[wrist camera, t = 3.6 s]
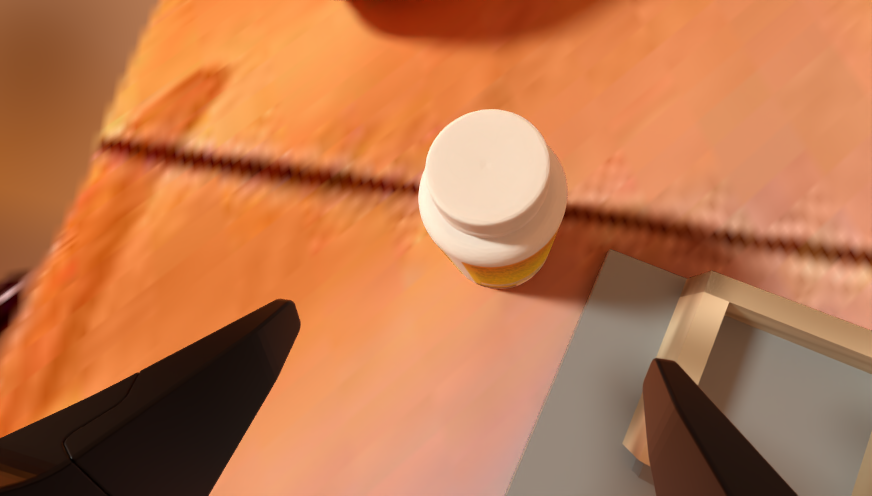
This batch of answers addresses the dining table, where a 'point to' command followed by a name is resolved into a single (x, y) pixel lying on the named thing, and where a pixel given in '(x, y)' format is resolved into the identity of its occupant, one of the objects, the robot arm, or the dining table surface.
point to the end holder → (762, 310)
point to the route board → (721, 381)
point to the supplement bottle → (493, 197)
